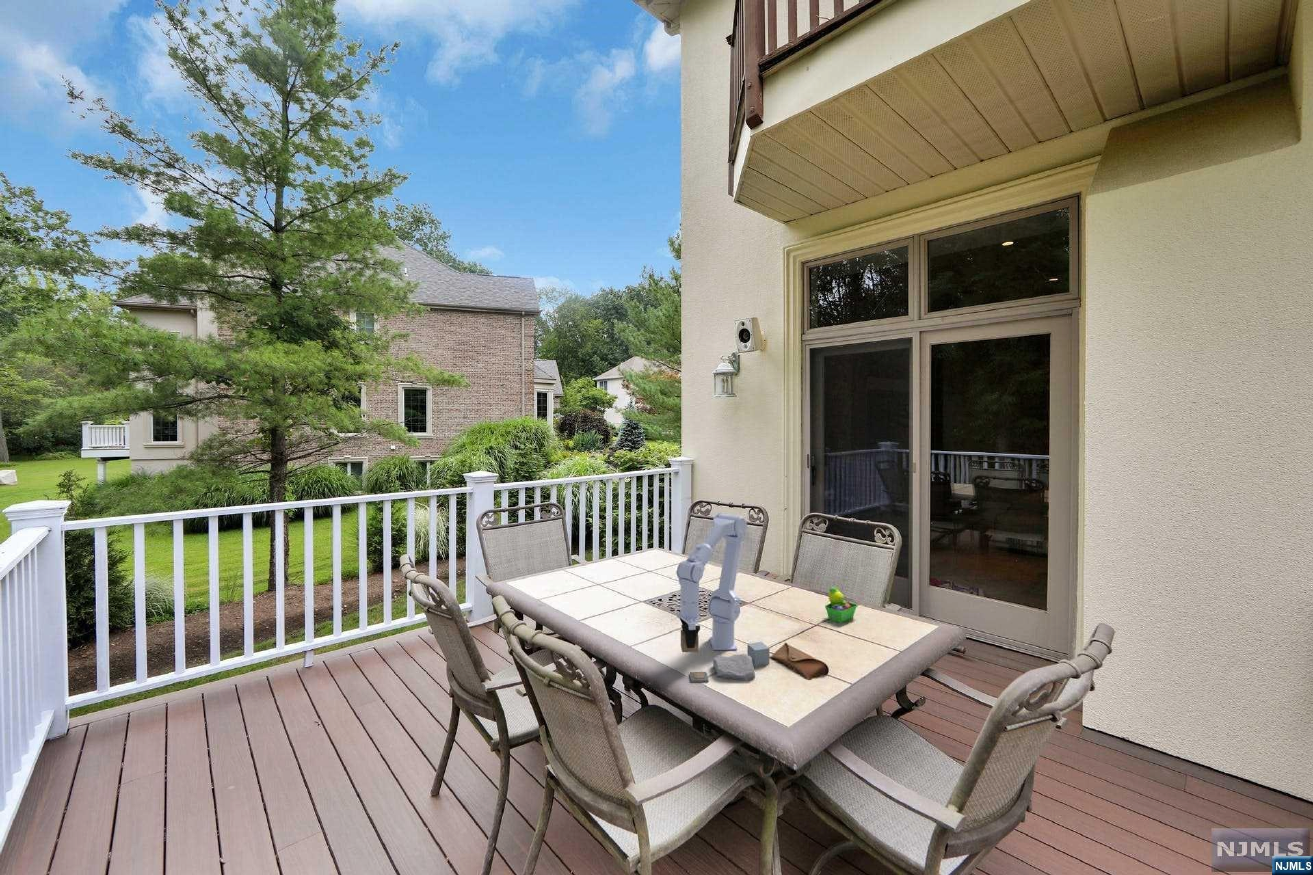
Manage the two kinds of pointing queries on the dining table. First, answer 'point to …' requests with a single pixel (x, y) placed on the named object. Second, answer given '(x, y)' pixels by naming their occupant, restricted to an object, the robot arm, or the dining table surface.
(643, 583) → the dining table surface
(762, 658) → the blue-grey cube
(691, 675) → the tile
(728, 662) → the stone block
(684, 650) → the walnut cube
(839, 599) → the fruit basket
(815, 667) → the sunglasses case
